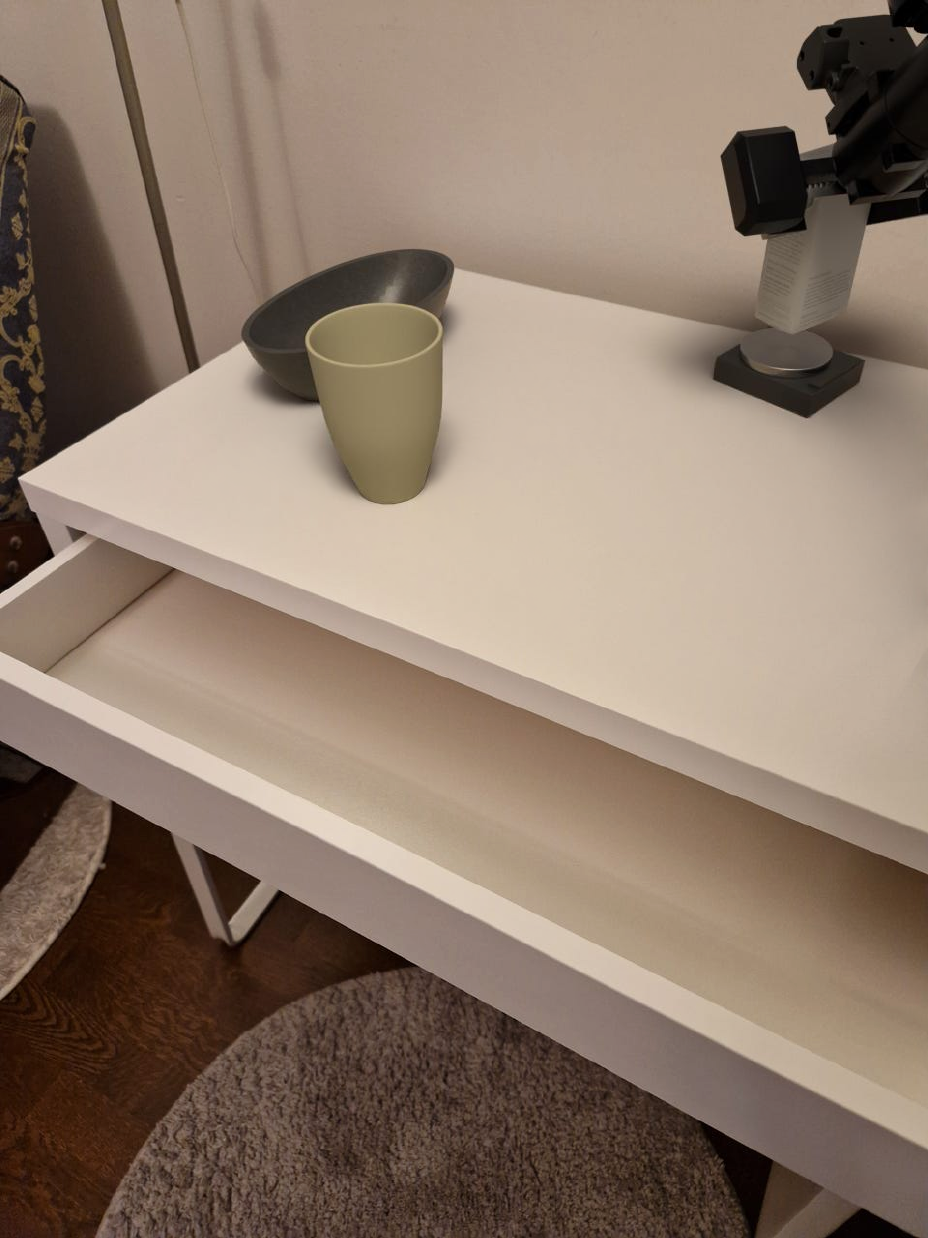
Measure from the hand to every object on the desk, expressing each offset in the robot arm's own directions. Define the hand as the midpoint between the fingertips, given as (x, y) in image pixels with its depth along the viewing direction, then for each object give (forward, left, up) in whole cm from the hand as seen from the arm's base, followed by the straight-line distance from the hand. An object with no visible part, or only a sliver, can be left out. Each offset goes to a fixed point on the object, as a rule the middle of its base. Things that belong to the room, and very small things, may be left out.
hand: (807, 227), depth 72 cm
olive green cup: (+30, +17, -12) cm, 37 cm away
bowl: (+36, 0, -12) cm, 38 cm away
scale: (0, +1, -12) cm, 12 cm away
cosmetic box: (0, +1, -7) cm, 7 cm away
